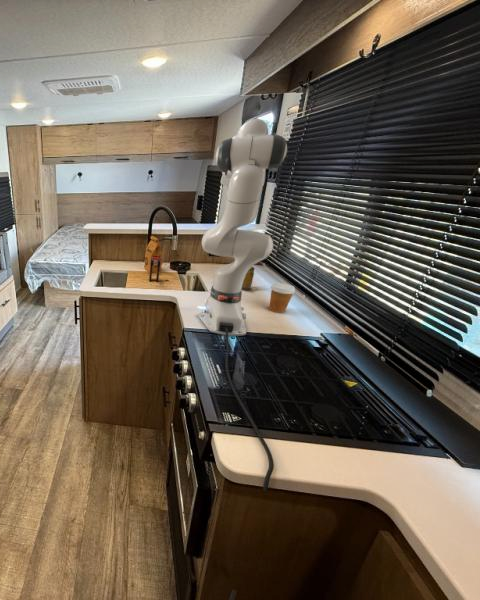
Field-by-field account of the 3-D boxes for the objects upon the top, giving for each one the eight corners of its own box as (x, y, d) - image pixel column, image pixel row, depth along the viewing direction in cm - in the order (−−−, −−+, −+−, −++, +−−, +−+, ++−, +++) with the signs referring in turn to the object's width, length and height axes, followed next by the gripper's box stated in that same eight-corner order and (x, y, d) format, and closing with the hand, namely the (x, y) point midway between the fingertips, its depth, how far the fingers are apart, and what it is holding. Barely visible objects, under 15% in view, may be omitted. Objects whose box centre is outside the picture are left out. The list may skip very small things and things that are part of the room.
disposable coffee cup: (261, 309, 144) (268, 285, 139) (270, 304, 150) (276, 281, 145) (284, 316, 137) (291, 291, 133) (291, 310, 143) (299, 286, 138)
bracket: (161, 286, 172) (164, 263, 166) (145, 285, 173) (147, 262, 168) (160, 280, 182) (163, 257, 176) (145, 279, 183) (147, 256, 178)
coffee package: (147, 275, 190) (150, 240, 181) (142, 269, 201) (145, 235, 192) (162, 275, 190) (166, 239, 181) (157, 268, 201) (161, 235, 192)
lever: (161, 260, 161) (162, 256, 161) (152, 260, 162) (152, 256, 162) (159, 265, 174) (159, 261, 174) (150, 265, 174) (150, 261, 175)
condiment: (241, 284, 174) (245, 264, 169) (256, 288, 168) (261, 268, 163) (235, 287, 170) (239, 267, 165) (250, 292, 164) (255, 270, 159)
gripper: (221, 168, 155) (217, 194, 164) (266, 171, 145) (259, 198, 155) (224, 163, 158) (220, 188, 168) (269, 165, 149) (261, 192, 158)
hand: (239, 193), depth 161 cm, fingers open, 8 cm apart
